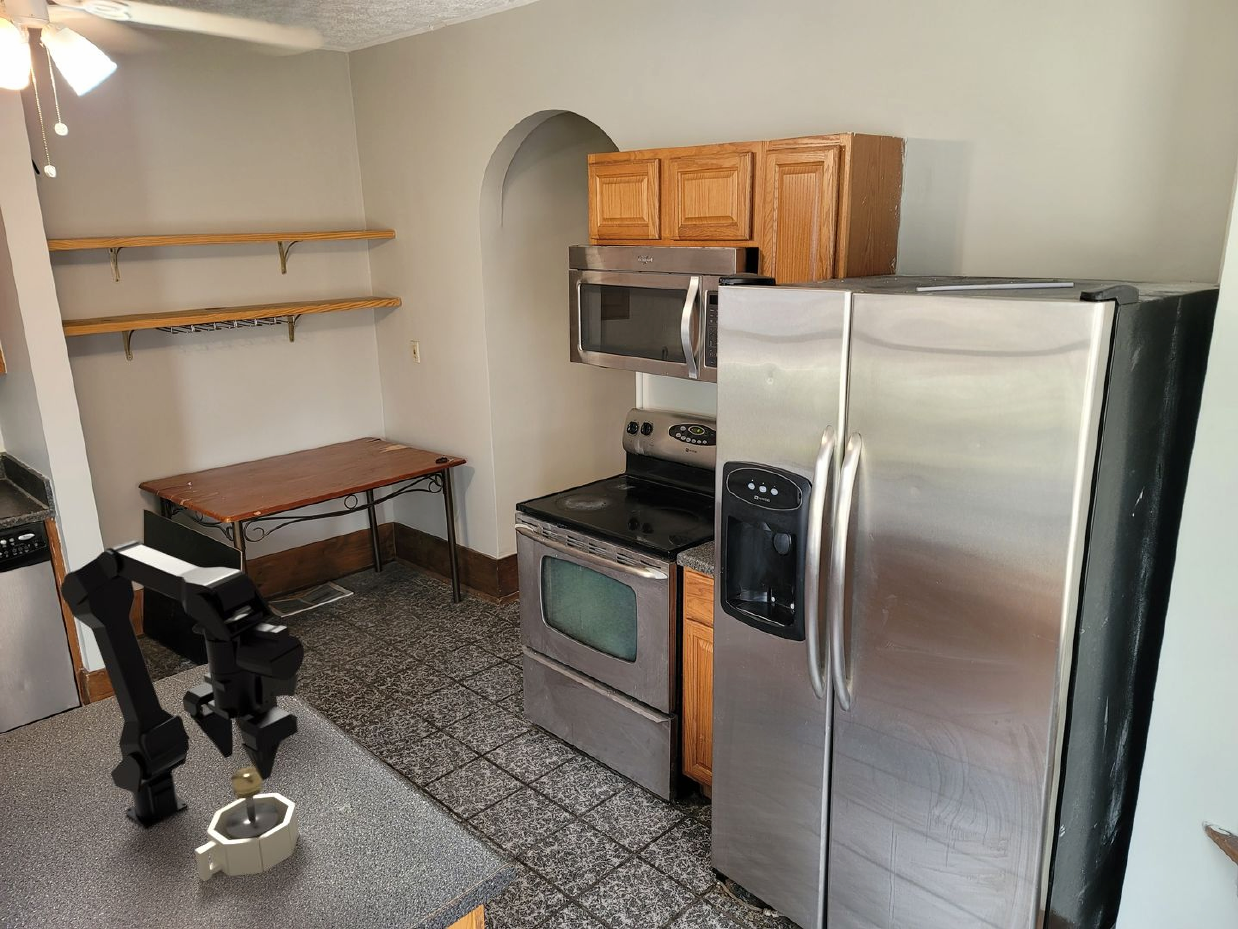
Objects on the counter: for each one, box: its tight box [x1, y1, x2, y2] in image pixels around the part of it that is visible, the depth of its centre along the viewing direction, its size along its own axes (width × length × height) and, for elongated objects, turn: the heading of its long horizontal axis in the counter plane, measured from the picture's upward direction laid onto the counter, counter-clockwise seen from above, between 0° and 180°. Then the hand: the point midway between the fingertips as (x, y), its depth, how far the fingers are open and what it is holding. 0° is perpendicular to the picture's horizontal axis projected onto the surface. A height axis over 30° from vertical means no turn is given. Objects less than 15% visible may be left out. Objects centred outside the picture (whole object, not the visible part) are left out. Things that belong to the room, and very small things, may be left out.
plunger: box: [225, 766, 279, 840], centre depth 124 cm, size 7×7×8 cm
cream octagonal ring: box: [194, 792, 300, 882], centre depth 124 cm, size 11×13×5 cm
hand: (246, 767), depth 123 cm, fingers open, 9 cm apart
